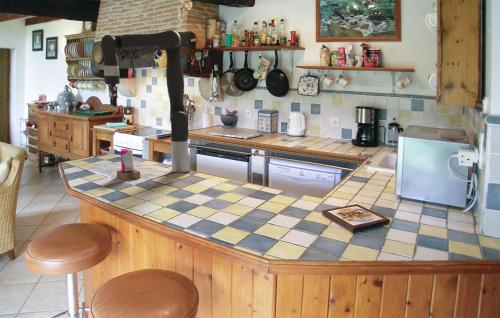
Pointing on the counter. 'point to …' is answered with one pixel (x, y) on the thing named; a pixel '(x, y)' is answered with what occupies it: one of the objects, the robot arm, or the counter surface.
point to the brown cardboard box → (128, 175)
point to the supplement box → (127, 160)
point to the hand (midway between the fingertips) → (113, 105)
